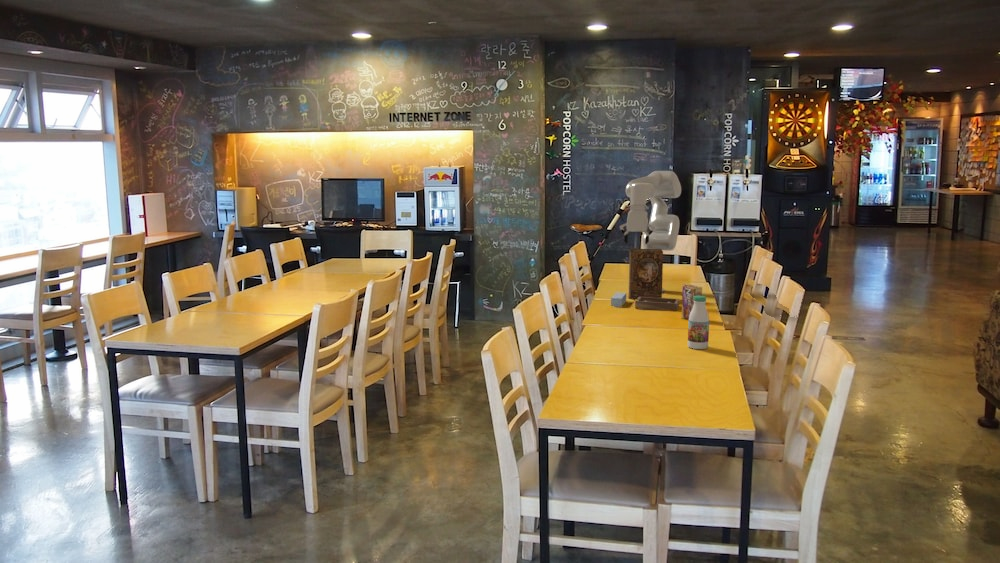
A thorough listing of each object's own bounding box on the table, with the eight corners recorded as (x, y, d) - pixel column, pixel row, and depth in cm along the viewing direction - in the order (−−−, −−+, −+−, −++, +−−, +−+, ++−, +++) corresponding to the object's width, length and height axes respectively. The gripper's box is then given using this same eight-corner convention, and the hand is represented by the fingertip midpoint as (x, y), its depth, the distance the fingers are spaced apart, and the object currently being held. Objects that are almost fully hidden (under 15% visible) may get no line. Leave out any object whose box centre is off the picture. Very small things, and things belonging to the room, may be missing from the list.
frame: (638, 303, 389) (638, 296, 389) (678, 305, 384) (679, 298, 383) (635, 308, 378) (635, 301, 377) (676, 311, 372) (676, 303, 371)
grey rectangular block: (616, 301, 397) (616, 292, 396) (626, 301, 395) (626, 293, 395) (610, 307, 383) (611, 298, 382) (621, 307, 381) (621, 298, 381)
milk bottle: (684, 345, 309) (686, 294, 305) (704, 344, 309) (706, 294, 306) (691, 350, 301) (693, 298, 298) (711, 349, 302) (713, 298, 298)
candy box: (701, 321, 351) (702, 287, 348) (693, 322, 349) (695, 287, 346) (688, 317, 359) (689, 283, 356) (680, 318, 357) (682, 284, 354)
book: (628, 299, 401) (630, 250, 397) (628, 297, 406) (629, 248, 402) (661, 299, 399) (663, 250, 395) (660, 297, 405) (662, 249, 401)
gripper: (656, 208, 389) (655, 243, 391) (621, 207, 394) (619, 242, 396) (655, 209, 382) (653, 244, 384) (619, 208, 387) (617, 243, 389)
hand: (636, 243), depth 390 cm, fingers open, 9 cm apart
